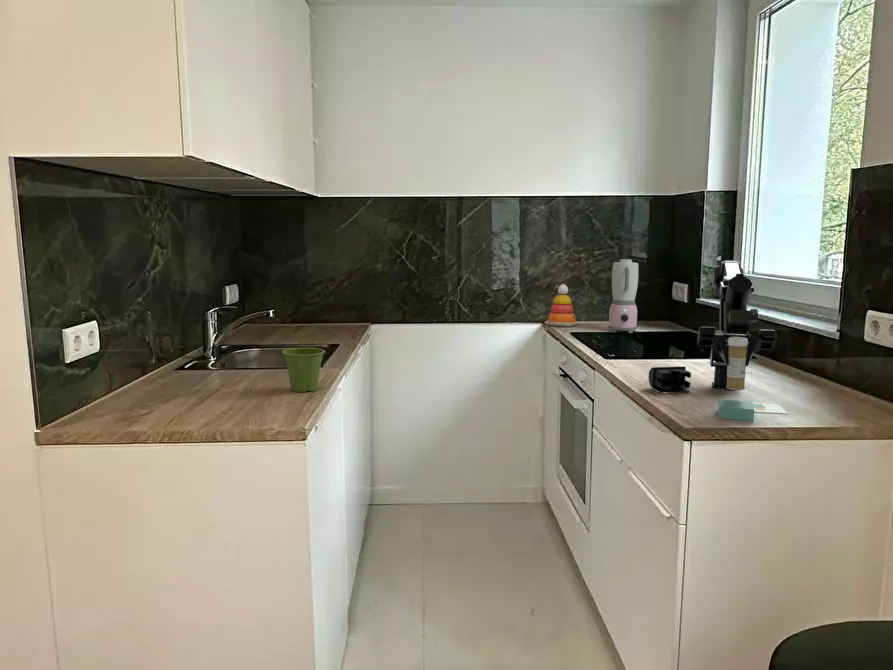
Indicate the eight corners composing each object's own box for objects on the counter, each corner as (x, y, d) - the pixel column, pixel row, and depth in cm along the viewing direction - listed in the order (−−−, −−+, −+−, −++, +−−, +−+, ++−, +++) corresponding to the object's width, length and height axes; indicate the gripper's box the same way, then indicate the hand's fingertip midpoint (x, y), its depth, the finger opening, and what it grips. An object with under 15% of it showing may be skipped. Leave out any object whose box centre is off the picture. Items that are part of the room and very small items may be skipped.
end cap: (678, 386, 202) (680, 364, 201) (691, 392, 195) (692, 369, 194) (647, 387, 200) (648, 365, 199) (658, 393, 193) (660, 370, 192)
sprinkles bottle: (736, 386, 178) (739, 335, 176) (748, 390, 174) (751, 338, 172) (721, 387, 177) (724, 336, 175) (733, 391, 173) (736, 339, 171)
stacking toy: (573, 328, 312) (575, 286, 309) (543, 326, 317) (544, 285, 314) (579, 324, 325) (580, 283, 322) (549, 322, 330) (551, 282, 327)
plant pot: (325, 393, 190) (324, 354, 188) (282, 395, 188) (280, 355, 186) (325, 384, 201) (325, 346, 199) (284, 385, 199) (283, 347, 197)
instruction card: (730, 402, 184) (730, 401, 184) (777, 405, 182) (777, 403, 182) (738, 411, 175) (738, 410, 175) (788, 414, 173) (788, 413, 173)
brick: (717, 409, 176) (718, 398, 176) (751, 413, 174) (752, 401, 173) (718, 418, 169) (719, 406, 169) (753, 421, 166) (754, 409, 166)
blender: (607, 328, 313) (610, 258, 308) (634, 329, 311) (638, 259, 306) (609, 333, 297) (613, 260, 292) (638, 334, 295) (642, 261, 290)
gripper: (701, 296, 178) (701, 344, 170) (779, 299, 173) (783, 349, 164) (697, 321, 187) (697, 369, 178) (771, 325, 182) (774, 374, 173)
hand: (737, 364), depth 173 cm, fingers closed on sprinkles bottle, 4 cm apart
